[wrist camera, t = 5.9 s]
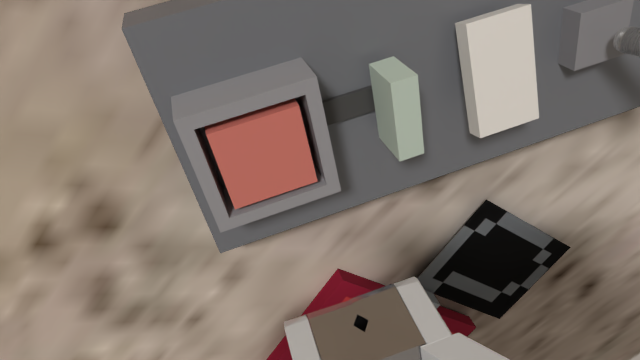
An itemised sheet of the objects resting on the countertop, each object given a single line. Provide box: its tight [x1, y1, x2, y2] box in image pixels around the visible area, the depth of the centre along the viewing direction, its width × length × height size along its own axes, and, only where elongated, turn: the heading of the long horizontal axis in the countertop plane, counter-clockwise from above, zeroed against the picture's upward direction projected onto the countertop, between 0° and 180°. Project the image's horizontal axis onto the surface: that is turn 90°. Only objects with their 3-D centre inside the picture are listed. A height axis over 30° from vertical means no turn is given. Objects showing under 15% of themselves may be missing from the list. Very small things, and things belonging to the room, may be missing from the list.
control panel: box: [122, 0, 640, 253], centre depth 20 cm, size 22×10×4 cm, turn 101°
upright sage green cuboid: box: [369, 56, 424, 161], centre depth 18 cm, size 1×3×2 cm, turn 11°
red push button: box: [204, 98, 317, 209], centre depth 17 cm, size 3×3×2 cm
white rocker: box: [455, 4, 539, 138], centre depth 19 cm, size 3×4×1 cm, turn 11°
